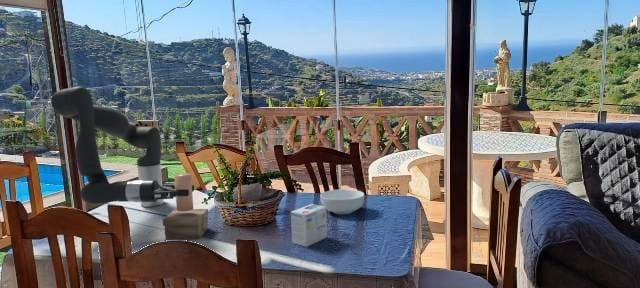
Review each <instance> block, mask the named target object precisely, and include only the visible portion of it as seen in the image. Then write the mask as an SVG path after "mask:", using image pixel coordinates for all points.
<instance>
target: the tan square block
mask: <svg viewBox="0 0 640 288" xmlns="http://www.w3.org/2000/svg"><path fill="white" fill-rule="evenodd" d="M208 215H209V209H208V208H193V209H192V210H190V211H177V208H176V209H173V210H172V211H171V212H170V213H169V214H168V215H166V216H165V217H164V218H163V219H162V226H163V227H164V236H165V237H164V239H165V240H167V241H168V240H169V241H170V240H171V241H174V240H173V239H179V240H180V241H181V240H183V241H184V240H200V239H201V237H202V236H203V235H204V233H206V231H207V230H208V229H209V224H208V223H209V222H208V220H209V219H208Z"/></svg>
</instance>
